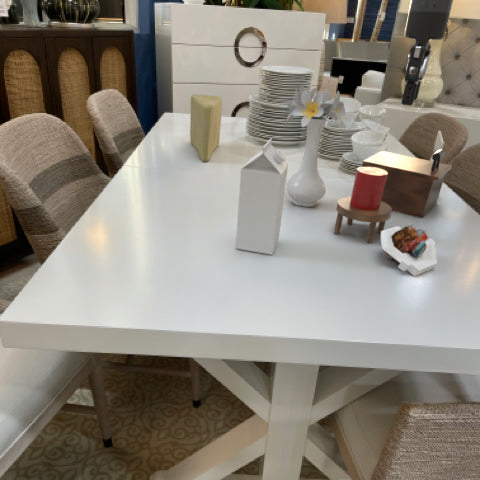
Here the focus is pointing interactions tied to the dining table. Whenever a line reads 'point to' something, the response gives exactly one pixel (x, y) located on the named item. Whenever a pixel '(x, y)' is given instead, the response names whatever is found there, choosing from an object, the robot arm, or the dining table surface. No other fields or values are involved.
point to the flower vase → (311, 142)
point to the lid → (410, 164)
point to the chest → (410, 193)
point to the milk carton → (261, 201)
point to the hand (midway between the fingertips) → (409, 102)
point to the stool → (362, 216)
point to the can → (368, 188)
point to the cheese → (205, 124)
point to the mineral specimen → (409, 249)
